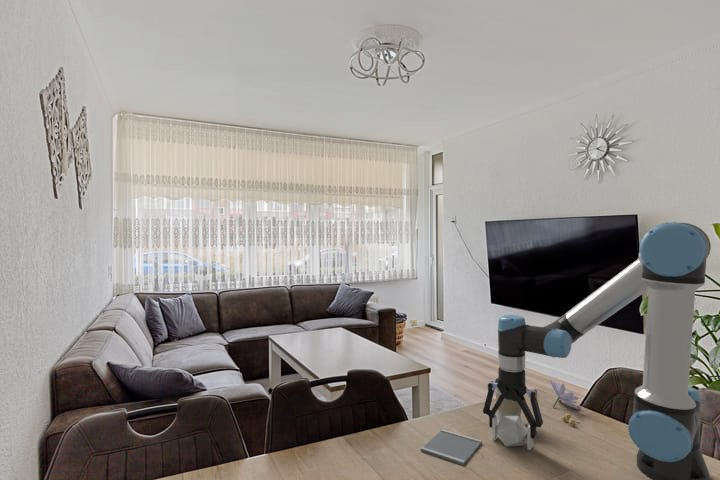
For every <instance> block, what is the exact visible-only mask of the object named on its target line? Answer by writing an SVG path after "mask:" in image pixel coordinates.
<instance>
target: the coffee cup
mask: <svg viewBox="0 0 720 480" xmlns="http://www.w3.org/2000/svg"><path fill="white" fill-rule="evenodd" d="M498 381H499V380H498V377H497V378H495V380H494V383H498ZM494 393H495V401H496V402H497V400H498V398H499V397H500V395H501V392H500V391H499V389H498V388H497V387H496V389H495V390H494ZM496 402H495V403H496ZM521 415H522V409H521V407H520V405H519V404H518V402H517V401H513V400H507V399H506V398H505V399H504V400H503V402H502V403H501V405H500V407H499V408H498V410H497V416H498V423H499V422H500V419H501V417H502V416H519V417H520V419H521V418H522V417H521ZM521 420H522V419H521Z"/></svg>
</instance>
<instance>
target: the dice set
mask: <svg viewBox="0 0 720 480" xmlns="http://www.w3.org/2000/svg"><path fill="white" fill-rule="evenodd" d="M561 422H563V423H567V422H568V426H569V427H575V423H576V424H580V420H574V419H573V418H572V415H571V414H570V413H566V414H565V416H564V415H563V416H562V417H561Z"/></svg>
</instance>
